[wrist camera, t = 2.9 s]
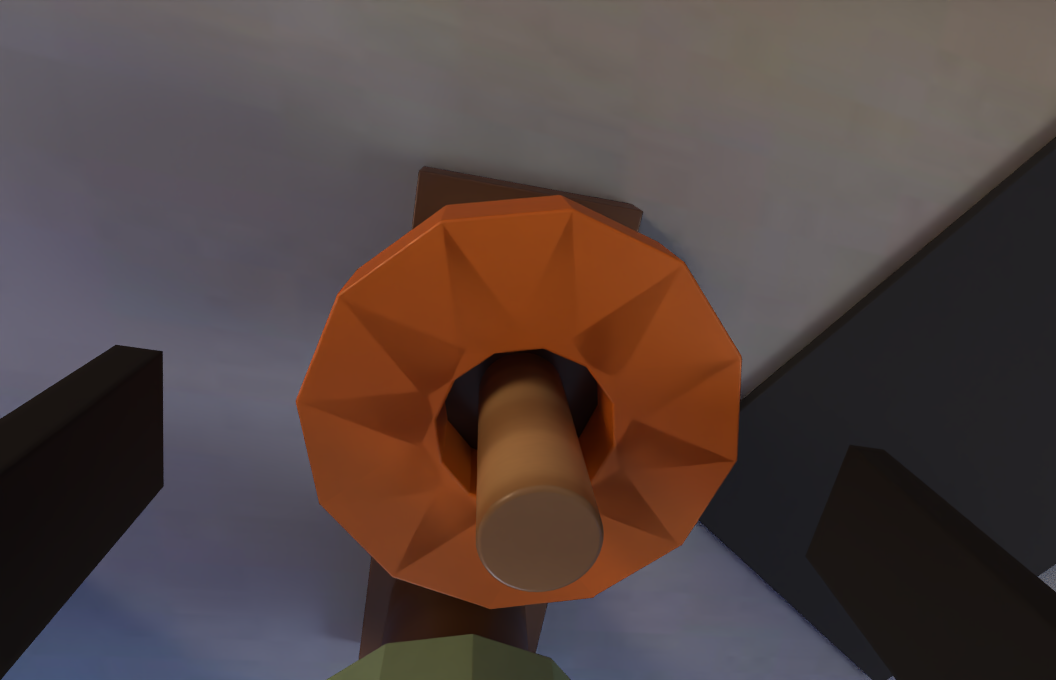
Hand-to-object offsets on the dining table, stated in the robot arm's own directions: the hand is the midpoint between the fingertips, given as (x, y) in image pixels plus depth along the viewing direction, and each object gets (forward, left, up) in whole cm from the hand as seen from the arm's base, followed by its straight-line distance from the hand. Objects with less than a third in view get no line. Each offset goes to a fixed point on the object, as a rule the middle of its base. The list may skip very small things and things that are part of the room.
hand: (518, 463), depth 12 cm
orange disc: (0, 0, -3) cm, 3 cm away
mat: (-12, +15, -11) cm, 22 cm away
